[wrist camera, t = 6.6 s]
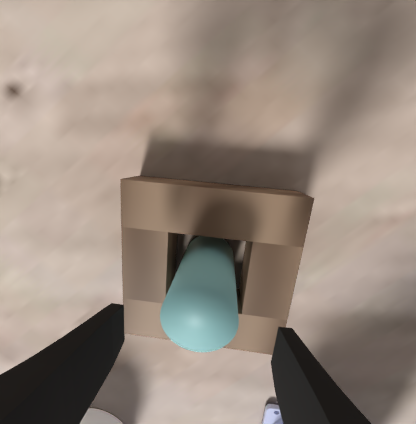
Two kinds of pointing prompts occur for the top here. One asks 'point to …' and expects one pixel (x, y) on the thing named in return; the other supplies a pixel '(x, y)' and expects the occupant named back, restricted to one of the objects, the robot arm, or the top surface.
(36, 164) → the top surface
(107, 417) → the pill bottle
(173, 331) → the dowel
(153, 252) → the socket block
